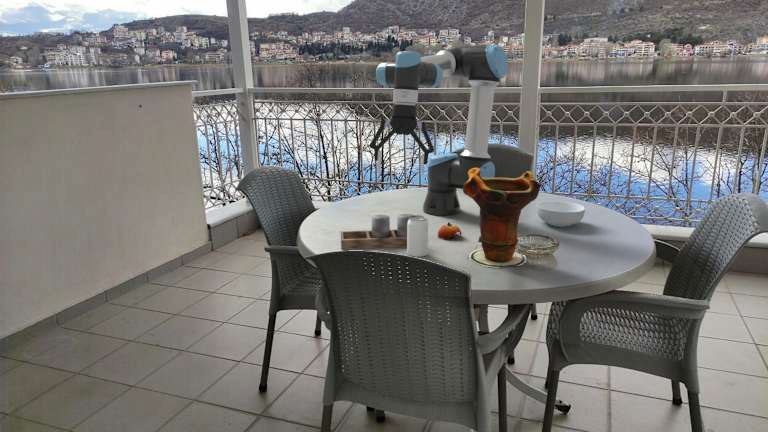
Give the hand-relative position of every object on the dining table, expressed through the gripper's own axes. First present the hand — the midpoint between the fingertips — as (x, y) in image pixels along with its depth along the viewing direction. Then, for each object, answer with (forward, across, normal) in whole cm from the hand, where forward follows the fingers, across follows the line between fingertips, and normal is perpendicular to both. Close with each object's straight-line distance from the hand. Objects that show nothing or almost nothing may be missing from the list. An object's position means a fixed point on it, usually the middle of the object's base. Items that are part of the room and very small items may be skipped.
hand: (400, 173), depth 166 cm
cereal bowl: (+19, +58, +36) cm, 70 cm away
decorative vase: (+24, +32, -3) cm, 40 cm away
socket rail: (+25, -6, +6) cm, 26 cm away
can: (+25, +8, -3) cm, 26 cm away
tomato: (+23, +17, +16) cm, 33 cm away
